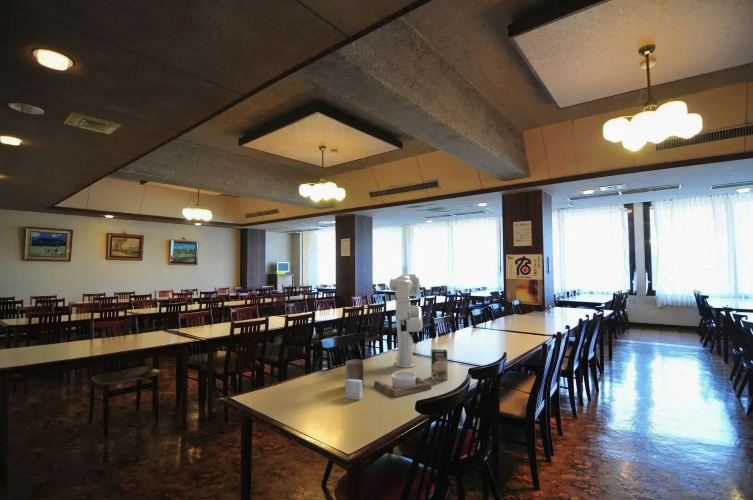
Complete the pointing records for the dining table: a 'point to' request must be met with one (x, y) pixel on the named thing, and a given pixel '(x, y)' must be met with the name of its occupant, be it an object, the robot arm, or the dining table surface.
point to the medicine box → (353, 389)
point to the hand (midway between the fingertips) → (403, 331)
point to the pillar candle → (354, 369)
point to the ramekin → (403, 379)
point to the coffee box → (439, 364)
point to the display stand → (420, 386)
